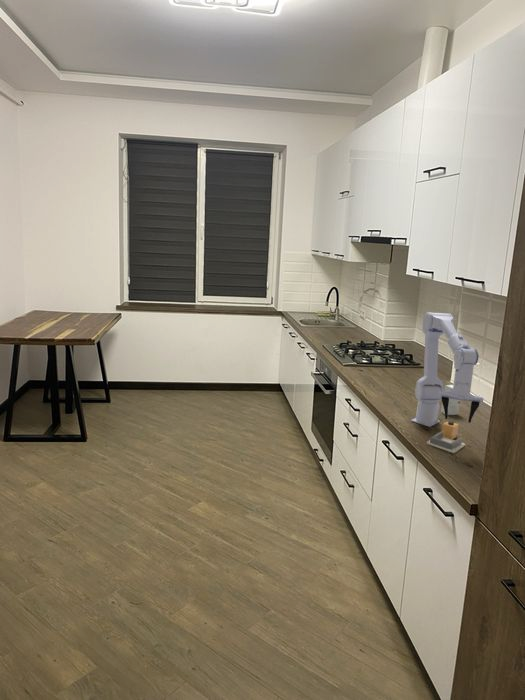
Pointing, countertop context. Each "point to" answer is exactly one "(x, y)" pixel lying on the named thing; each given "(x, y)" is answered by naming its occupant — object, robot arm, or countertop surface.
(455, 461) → the countertop surface
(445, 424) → the block
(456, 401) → the white block
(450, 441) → the end holder
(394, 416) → the countertop surface
